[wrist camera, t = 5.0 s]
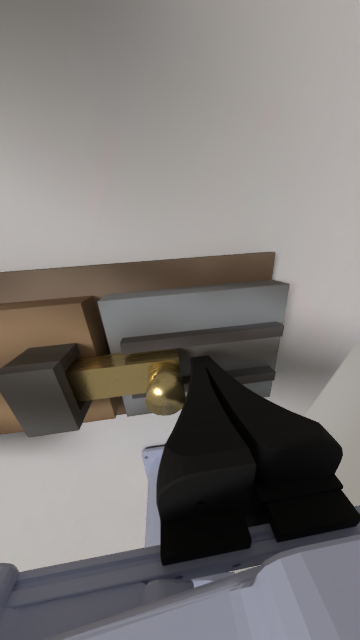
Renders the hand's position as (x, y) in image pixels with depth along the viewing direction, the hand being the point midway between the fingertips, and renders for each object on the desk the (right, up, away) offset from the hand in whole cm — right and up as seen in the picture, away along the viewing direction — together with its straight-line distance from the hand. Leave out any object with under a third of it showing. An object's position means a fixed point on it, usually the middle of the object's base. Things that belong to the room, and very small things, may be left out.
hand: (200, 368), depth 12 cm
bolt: (-5, 0, +1) cm, 5 cm away
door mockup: (-7, +1, +3) cm, 8 cm away
